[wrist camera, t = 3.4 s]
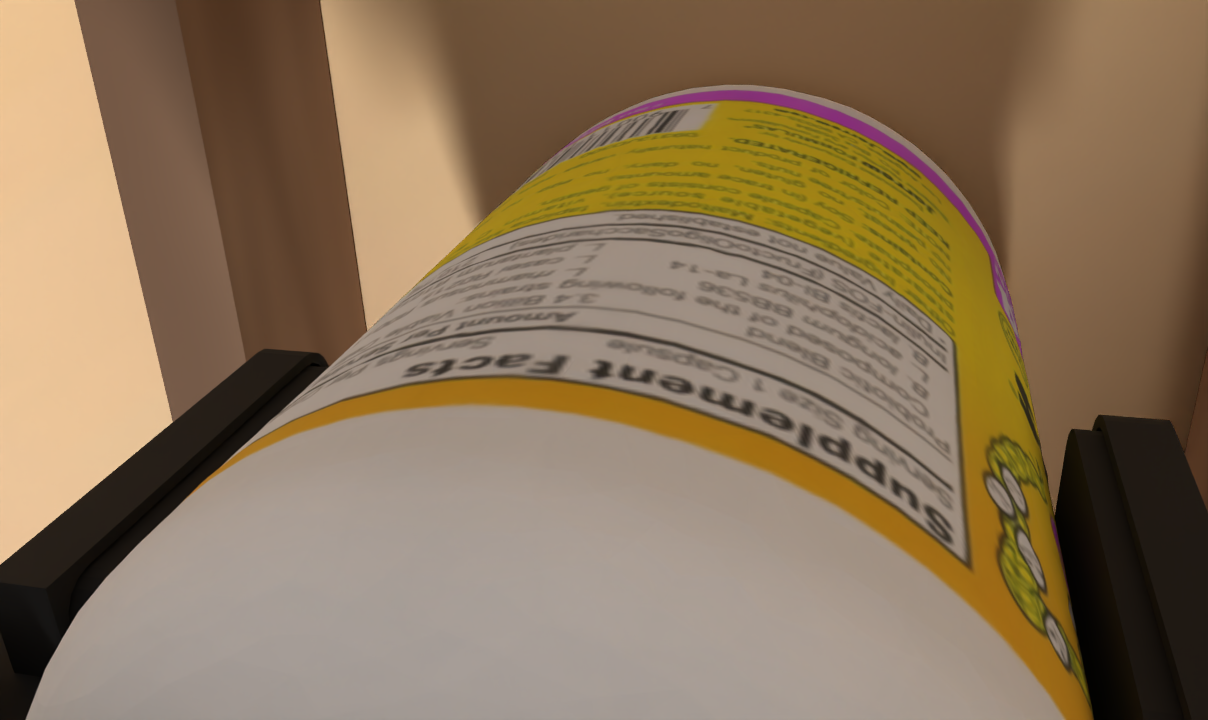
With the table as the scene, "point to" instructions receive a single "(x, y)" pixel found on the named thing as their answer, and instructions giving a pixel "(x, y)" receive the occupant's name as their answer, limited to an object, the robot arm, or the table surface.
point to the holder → (249, 186)
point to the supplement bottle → (635, 466)
